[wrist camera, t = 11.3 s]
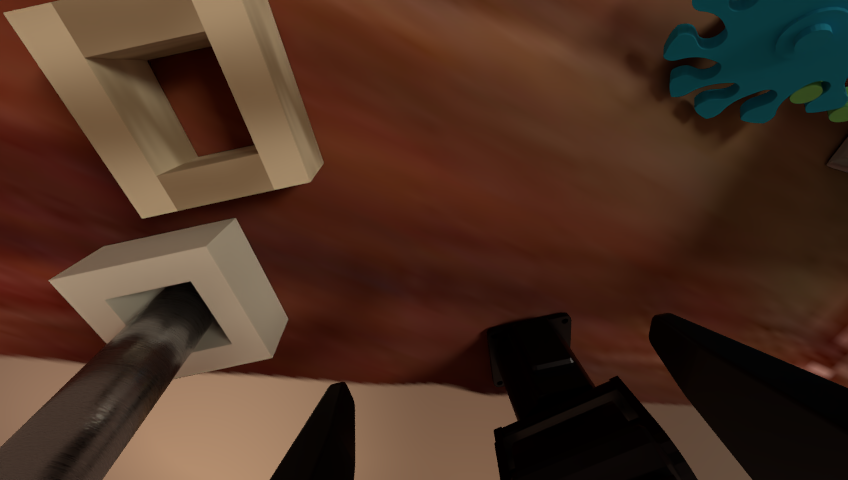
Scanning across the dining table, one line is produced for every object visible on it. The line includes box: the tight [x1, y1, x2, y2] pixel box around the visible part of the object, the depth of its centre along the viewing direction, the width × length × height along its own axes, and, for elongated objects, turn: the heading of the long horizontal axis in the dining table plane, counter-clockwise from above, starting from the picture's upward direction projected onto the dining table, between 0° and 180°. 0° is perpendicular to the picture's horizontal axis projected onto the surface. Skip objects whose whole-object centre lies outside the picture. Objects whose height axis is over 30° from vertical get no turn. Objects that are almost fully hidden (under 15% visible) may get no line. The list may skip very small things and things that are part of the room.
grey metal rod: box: [0, 281, 215, 480], centre depth 15 cm, size 3×3×12 cm
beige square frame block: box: [4, 0, 324, 219], centre depth 15 cm, size 8×8×4 cm
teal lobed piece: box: [663, 0, 848, 123], centre depth 15 cm, size 11×6×10 cm
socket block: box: [48, 218, 288, 379], centre depth 19 cm, size 8×8×4 cm
